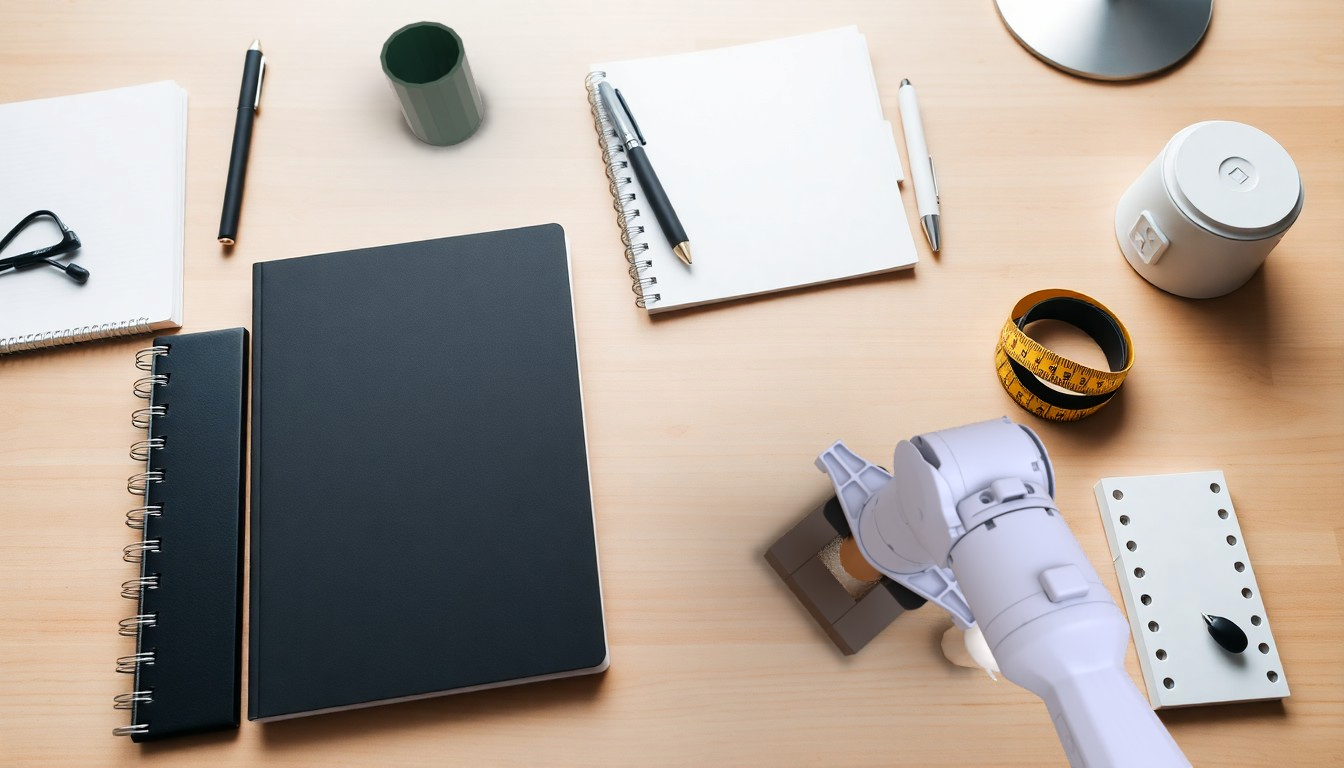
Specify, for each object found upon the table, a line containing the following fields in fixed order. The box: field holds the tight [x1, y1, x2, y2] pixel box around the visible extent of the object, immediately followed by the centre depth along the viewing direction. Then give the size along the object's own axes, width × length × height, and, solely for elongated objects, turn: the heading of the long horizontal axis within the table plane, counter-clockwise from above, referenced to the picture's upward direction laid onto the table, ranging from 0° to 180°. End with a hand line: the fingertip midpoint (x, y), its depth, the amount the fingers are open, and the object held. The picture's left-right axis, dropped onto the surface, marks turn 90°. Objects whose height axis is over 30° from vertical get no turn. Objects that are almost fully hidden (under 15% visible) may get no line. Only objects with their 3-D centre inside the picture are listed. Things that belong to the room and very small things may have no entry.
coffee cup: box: [379, 20, 484, 147], centre depth 84 cm, size 8×8×9 cm
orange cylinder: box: [839, 533, 885, 583], centre depth 62 cm, size 4×4×8 cm
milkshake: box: [940, 624, 1001, 682], centre depth 65 cm, size 5×5×10 cm
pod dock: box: [763, 492, 906, 657], centre depth 70 cm, size 11×11×4 cm
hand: (870, 552), depth 63 cm, fingers closed on orange cylinder, 4 cm apart
